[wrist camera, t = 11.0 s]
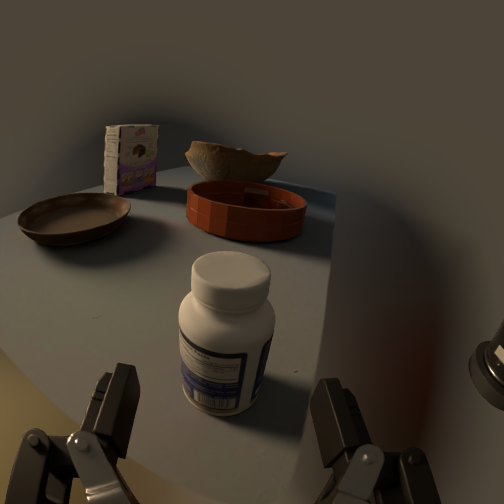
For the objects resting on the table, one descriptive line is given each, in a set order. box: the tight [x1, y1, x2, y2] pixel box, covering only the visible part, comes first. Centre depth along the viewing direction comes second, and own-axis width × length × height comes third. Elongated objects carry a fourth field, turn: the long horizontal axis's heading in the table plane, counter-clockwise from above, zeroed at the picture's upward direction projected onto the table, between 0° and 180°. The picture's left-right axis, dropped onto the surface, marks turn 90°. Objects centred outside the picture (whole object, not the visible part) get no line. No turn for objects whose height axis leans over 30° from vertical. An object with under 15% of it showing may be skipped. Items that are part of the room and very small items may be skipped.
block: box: [243, 187, 268, 209], centre depth 54 cm, size 4×4×4 cm
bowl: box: [186, 180, 307, 242], centre depth 50 cm, size 21×21×6 cm
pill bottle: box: [179, 251, 275, 416], centre depth 16 cm, size 5×5×10 cm
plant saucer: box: [17, 193, 131, 246], centre depth 39 cm, size 21×21×3 cm
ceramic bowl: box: [185, 141, 287, 183], centre depth 80 cm, size 30×27×15 cm
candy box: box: [104, 125, 159, 196], centre depth 61 cm, size 14×6×16 cm, turn 157°
